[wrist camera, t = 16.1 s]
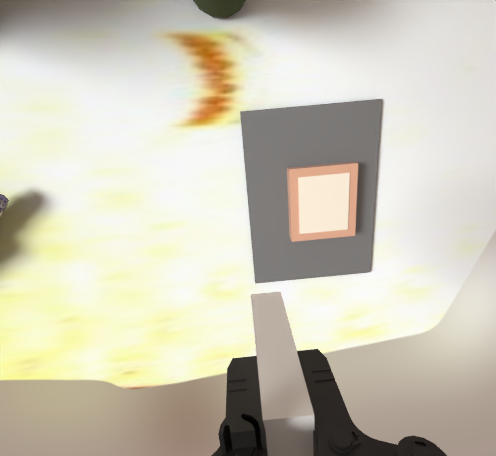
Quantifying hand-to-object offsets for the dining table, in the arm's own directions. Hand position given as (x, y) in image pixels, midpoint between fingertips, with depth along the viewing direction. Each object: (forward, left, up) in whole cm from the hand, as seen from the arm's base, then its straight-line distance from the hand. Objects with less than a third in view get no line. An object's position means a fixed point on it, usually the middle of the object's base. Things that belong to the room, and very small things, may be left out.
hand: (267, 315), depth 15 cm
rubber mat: (0, +8, -22) cm, 24 cm away
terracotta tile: (0, +5, -21) cm, 22 cm away
